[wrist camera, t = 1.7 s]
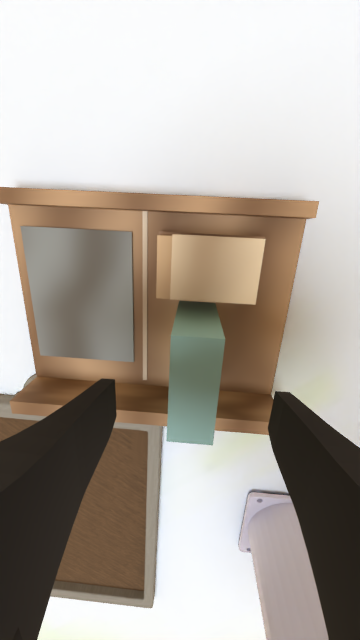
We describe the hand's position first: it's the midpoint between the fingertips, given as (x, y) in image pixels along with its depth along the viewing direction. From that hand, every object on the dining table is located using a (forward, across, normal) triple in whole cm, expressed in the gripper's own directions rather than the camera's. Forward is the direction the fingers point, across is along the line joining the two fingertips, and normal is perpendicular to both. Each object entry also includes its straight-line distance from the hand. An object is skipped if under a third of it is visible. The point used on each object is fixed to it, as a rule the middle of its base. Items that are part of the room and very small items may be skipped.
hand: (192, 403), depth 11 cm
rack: (+8, +3, -2) cm, 8 cm away
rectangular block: (+7, 0, 0) cm, 7 cm away
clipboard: (+8, +12, +19) cm, 24 cm away
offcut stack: (+7, 0, -5) cm, 9 cm away
